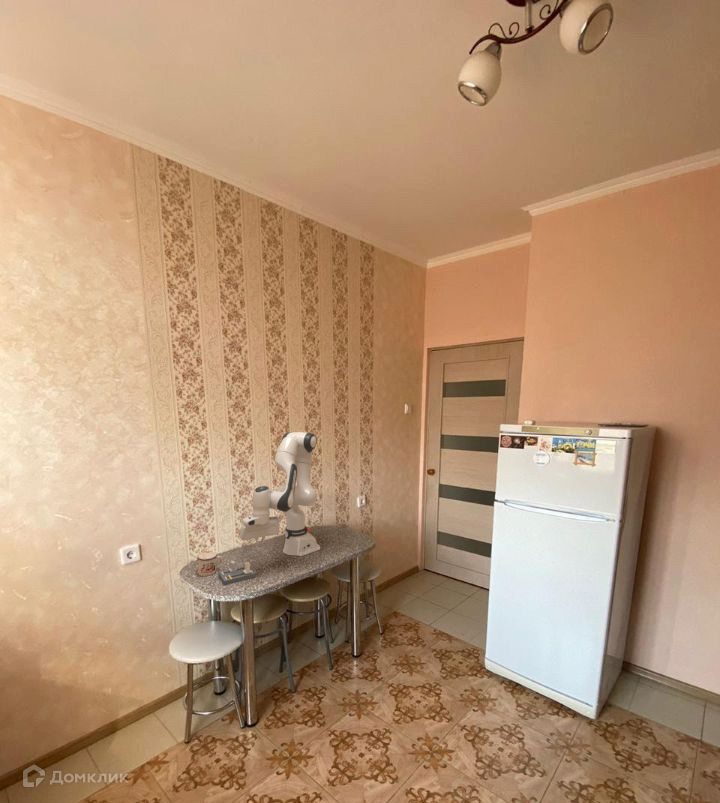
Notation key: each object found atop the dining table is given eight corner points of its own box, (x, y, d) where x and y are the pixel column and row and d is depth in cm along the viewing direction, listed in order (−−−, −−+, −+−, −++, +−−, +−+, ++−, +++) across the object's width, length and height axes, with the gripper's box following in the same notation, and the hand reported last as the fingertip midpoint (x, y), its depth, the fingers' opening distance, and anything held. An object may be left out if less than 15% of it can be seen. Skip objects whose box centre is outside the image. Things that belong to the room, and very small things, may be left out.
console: (249, 568, 195) (249, 556, 195) (256, 576, 186) (256, 563, 186) (218, 576, 186) (218, 563, 186) (224, 585, 177) (224, 571, 177)
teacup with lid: (199, 578, 183) (200, 555, 183) (195, 571, 190) (196, 549, 190) (224, 572, 190) (224, 550, 190) (219, 565, 197) (220, 544, 197)
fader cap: (249, 570, 188) (249, 561, 188) (251, 572, 185) (251, 563, 185) (243, 571, 186) (243, 562, 186) (245, 574, 183) (245, 564, 183)
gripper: (277, 514, 198) (276, 539, 197) (239, 519, 186) (238, 546, 186) (281, 517, 193) (280, 543, 192) (243, 523, 181) (242, 551, 181)
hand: (259, 545), depth 189 cm, fingers closed
